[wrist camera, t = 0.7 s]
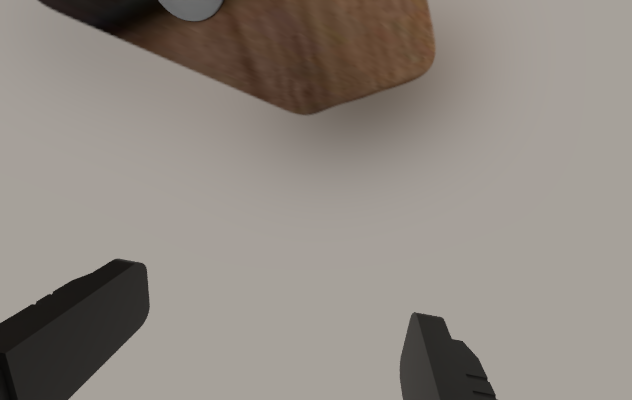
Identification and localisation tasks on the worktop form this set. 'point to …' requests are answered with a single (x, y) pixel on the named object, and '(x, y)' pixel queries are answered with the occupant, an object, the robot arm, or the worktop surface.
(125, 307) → the robot arm
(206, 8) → the coaster
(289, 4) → the worktop surface
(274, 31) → the worktop surface
